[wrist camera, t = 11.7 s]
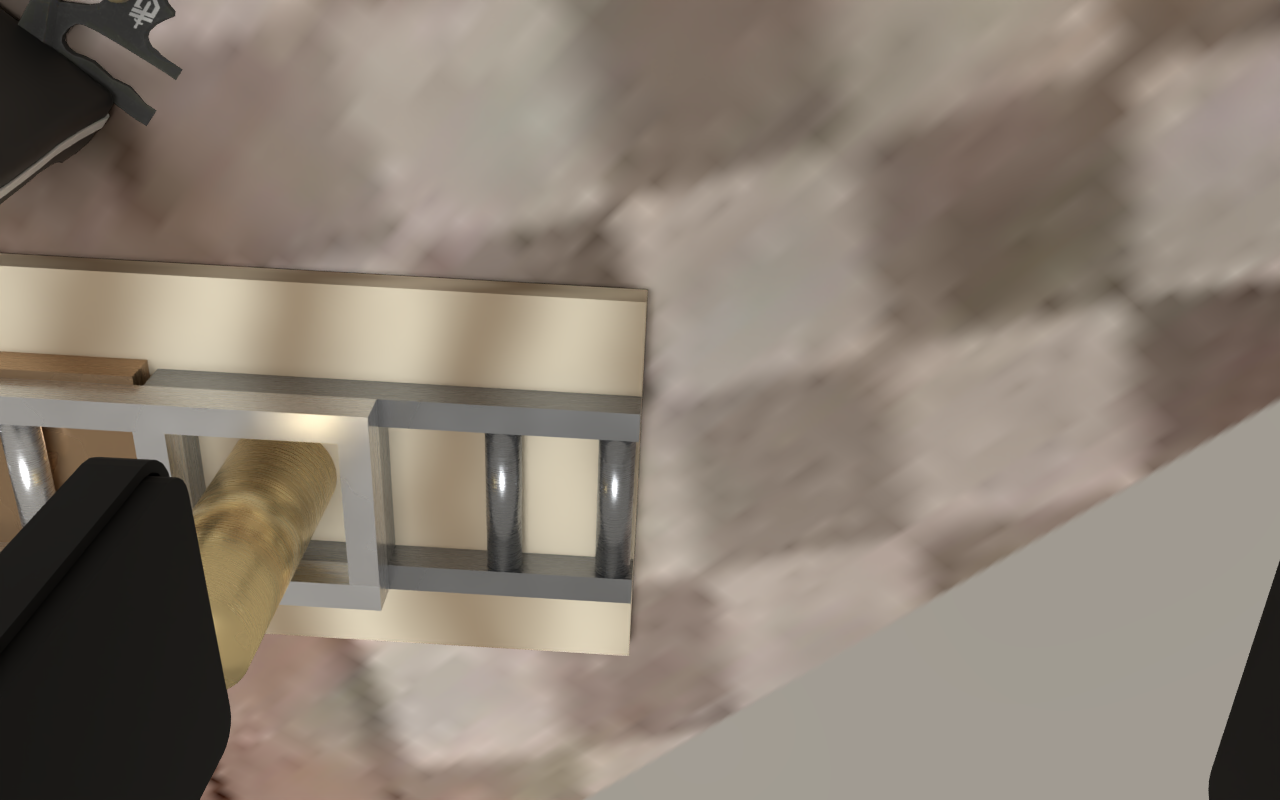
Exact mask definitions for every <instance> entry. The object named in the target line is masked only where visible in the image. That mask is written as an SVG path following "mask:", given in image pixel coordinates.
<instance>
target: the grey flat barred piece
mask: <svg viewBox="0 0 1280 800" xmlns="http://www.w3.org/2000/svg"><path fill="white" fill-rule="evenodd" d="M149 378H150V373H149V367H148V361H147V360H143V359H126V358H109V357H91V356H74V355H57V354H39V353H22V352H5V351H0V552H1V551H2V550H3V549H4V548H5V547H6V546H7V544H8V543H9V542H10V541H11V540H12V539H13V538H14V537H15V536H16V535H17V534H18V533H19V531H20V530H21V529H22V528H23V527H24V526H25V525H26V524H27V523H28V522H29V521H30V519H31V518H32V517H33V516H34V515H35V514H36V513H37V512H38V511H39V510H40V509H41V507H42V506H43V505H44V504H45V503H46V502H47V501H48V500H49V499H50V498H51V497H52V496H53V494H54V493H55V492H56V491H57V490H58V489H59V488H60V487H61V486H62V485H63V484H64V482H65V481H66V480H67V479H68V478H69V477H70V476H71V475H72V474H73V473H74V472H75V471H76V469H77V468H78V467H79V466H80V465H81V464H82V463H83V462H85V461H86V460H87V459H89V458H92V457H112V458H131V459H150V460H158V461H159V462H161V463H163V464H164V466H165V467H166V469H167V471H168V473H169V476H170V477H178V478H180V479H182V480H183V481H184V483H185V484H186V486H187V489H188V492H189V496H190V502H191V507H192V510H193V503H192V497H191V490H190V484H189V478H188V471H187V465H186V458H185V452H184V445H183V439H182V435H192V436H209V437H226V438H243V439H260V440H277V441H294V442H311V443H329V444H337V445H338V457H339V468H340V480H341V492H342V503H343V515H344V526H345V538H346V550H347V561H348V563H341V562H325V561H308V560H301V561H300V563H299V565H298V567H297V569H296V571H295V573H294V575H293V577H292V579H291V581H290V584H289V586H288V588H287V590H286V592H285V594H284V596H283V598H282V600H281V602H280V604H279V605H292V606H309V607H325V608H342V609H358V610H375V611H381V610H382V608H383V605H384V602H385V600H386V597H387V594H388V591H389V577H388V562H387V547H386V532H385V517H384V502H383V487H382V472H381V457H380V442H379V427H378V412H377V399H365V398H347V397H330V396H313V395H296V394H279V393H261V392H244V391H227V390H210V389H192V388H175V387H158V386H143V385H144V384H145V383H146V382H147V380H148V379H149Z"/></svg>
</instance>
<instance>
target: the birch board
mask: <svg viewBox="0 0 1280 800" xmlns="http://www.w3.org/2000/svg"><path fill="white" fill-rule="evenodd" d="M647 293H648V290H643V289H625V288H608V287H590V286H572V285H555V284H537V283H519V282H502V281H484V280H466V279H448V278H431V277H413V276H395V275H378V274H360V273H342V272H324V271H307V270H289V269H271V268H254V267H236V266H218V265H201V264H183V263H165V262H147V261H130V260H112V259H94V258H77V257H59V256H41V255H23V254H6V253H0V351H5V352H22V353H39V354H57V355H74V356H91V357H109V358H126V359H143V360H147V361H148V367H149V373H150V377H151V376H152V375H153V374H154V372H155V371H156V370H157V369H174V370H192V371H209V372H226V373H243V374H261V375H278V376H295V377H313V378H330V379H347V380H365V381H382V382H399V383H417V384H434V385H451V386H468V387H486V388H503V389H520V390H538V391H555V392H572V393H590V394H607V395H624V396H641V397H642V392H643V372H644V352H645V333H646V313H647ZM641 411H642V402H641ZM640 431H641V422H640ZM388 434H389V450H390V466H391V482H392V498H393V514H394V530H395V545H406V546H423V547H439V548H456V549H473V550H487V529H486V477H485V433H475V432H458V431H441V430H424V429H407V428H389V427H388ZM198 438H199V444H200V451H201V458H202V465H203V471H204V478H205V485H206V489H207V487H208V486H209V484H210V483H211V481H212V480H213V478H214V477H215V475H216V474H217V472H218V471H219V469H220V468H221V466H222V465H223V463H224V462H225V460H226V459H227V457H228V456H229V454H230V453H231V451H232V449H233V448H234V446H235V445H236V443H237V442H238V441H239V440H240V439H241V438H226V437H209V436H198ZM321 444H322V445H323V446H324V448H325V449H326V450H327V451H328V453H329V454H330V456H331V458H332V460H333V462H334V465H335V468H336V473H337V483H336V488H335V491H334V493H333V495H332V497H331V499H330V501H329V504H328V506H327V508H326V510H325V512H324V514H323V516H322V518H321V520H320V522H319V524H318V526H317V528H316V530H315V532H314V534H313V536H312V538H311V540H322V541H339V542H346V538H345V526H344V515H343V503H342V492H341V480H340V468H339V457H338V445H337V444H329V443H321ZM639 451H640V435H639V442H636V454H635V475H634V495H633V515H632V536H631V556H630V559H634V549H635V529H636V510H637V490H638V470H639ZM598 456H599V440H595V439H578V438H561V437H544V436H527V435H522V552H523V553H540V554H556V555H573V556H590V557H595V549H596V518H597V487H598ZM633 569H634V560H633ZM632 589H633V580H632ZM631 608H632V594H631V604H629V603H612V602H596V601H579V600H563V599H546V598H529V597H513V596H496V595H480V594H463V593H447V592H430V591H413V590H397V589H389V591H388V594H387V597H386V600H385V602H384V605H383V608H382V610H381V611H375V610H358V609H342V608H325V607H309V606H292V605H279V606H278V608H277V610H276V612H275V614H274V616H273V618H272V620H271V622H270V625H269V627H268V629H267V631H266V633H265V634H279V635H295V636H312V637H328V638H345V639H361V640H377V641H394V642H410V643H427V644H443V645H459V646H476V647H492V648H509V649H525V650H541V651H558V652H574V653H591V654H607V655H623V656H629V645H630V628H631Z"/></svg>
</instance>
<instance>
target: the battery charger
mask: <svg viewBox="0 0 1280 800" xmlns="http://www.w3.org/2000/svg"><path fill="white" fill-rule="evenodd" d="M18 23H19V22H18V21H17V20H15V19H14V18H13V17H11V16H10V15H9V14H7V13H6V12H4V11H3V10H2V9H0V204H1V203H2V202H4V201H5V200H6V199H7V198H9V197H10V196H11V195H13V194H14V193H15V192H16V191H18V190H19V189H20V188H21V187H23V186H24V185H25V184H26V183H28V182H29V181H30V180H31V179H32V178H34V177H35V176H36V175H37V174H38V173H40V172H41V171H43V170H44V169H46V168H47V167H49V166H50V165H52V164H54V163H56V162H64V161H65V160H66V159H68V158H69V157H70V156H72V155H74V154H76V153H77V152H78V151H79V150H80V149H81V148H82V147H84V146H85V145H86V144H87V143H88V142H89V141H90V140H91V138H92V137H93V135H94V134H95V132H96V131H97V130H99V129H101V128H102V127H103V126H104V124H105V123H106V121H107V120H108V118H109V114H108V112H109V111H110V109H111V107H112V105H113V97H112V95H111V94H110V93H109V92H108V91H107V90H106V89H105V88H104V87H102V86H101V85H100V84H99V83H97V82H96V81H95V80H93V79H92V78H91V77H90V76H88V75H87V74H86V73H84V72H83V71H82V70H81V69H79V68H78V67H77V66H75V65H74V64H73V63H72V62H70V61H69V60H68V59H66V58H65V57H64V56H62V55H61V54H60V53H58V52H57V51H56V50H55V49H53V48H52V47H51V46H49V45H47V44H45V43H43V42H42V41H41V40H39V39H38V38H36V37H35V36H34V35H32V34H31V33H29V32H28V31H27V30H25V29H24V28H22V27H21V26H19V25H18Z"/></svg>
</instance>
